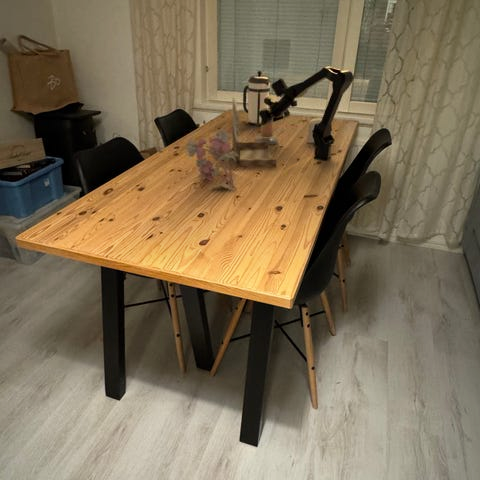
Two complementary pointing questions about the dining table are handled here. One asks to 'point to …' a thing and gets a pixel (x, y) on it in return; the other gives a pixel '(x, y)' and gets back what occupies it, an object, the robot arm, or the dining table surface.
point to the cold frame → (250, 148)
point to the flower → (219, 152)
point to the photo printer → (310, 129)
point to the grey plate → (270, 140)
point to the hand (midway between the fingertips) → (265, 123)
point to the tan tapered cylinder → (267, 127)
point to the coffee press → (256, 96)
